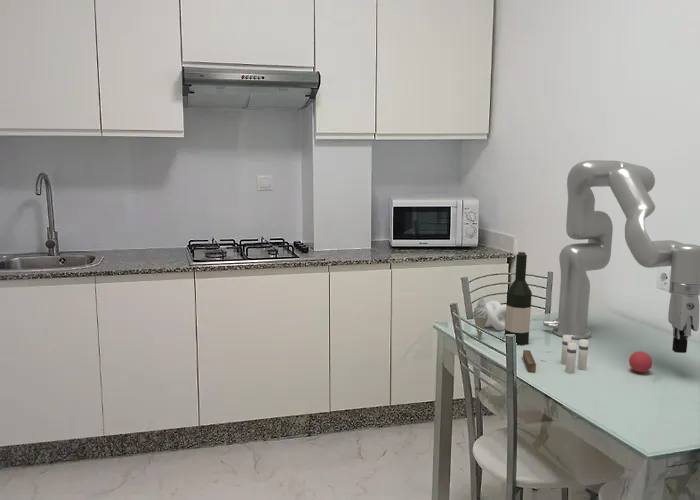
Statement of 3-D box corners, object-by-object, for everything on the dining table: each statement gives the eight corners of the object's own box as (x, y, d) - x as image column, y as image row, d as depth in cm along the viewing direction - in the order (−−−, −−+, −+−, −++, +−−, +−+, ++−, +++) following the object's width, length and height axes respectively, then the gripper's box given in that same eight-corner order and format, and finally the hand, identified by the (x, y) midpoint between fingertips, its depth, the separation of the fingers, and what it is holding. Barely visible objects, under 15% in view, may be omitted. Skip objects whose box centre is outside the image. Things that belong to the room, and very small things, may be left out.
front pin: (578, 369, 175) (580, 341, 174) (576, 366, 177) (578, 338, 176) (587, 370, 175) (589, 342, 173) (585, 367, 177) (587, 339, 176)
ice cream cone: (488, 337, 203) (490, 294, 200) (486, 342, 198) (488, 298, 196) (473, 336, 205) (475, 293, 202) (470, 340, 200) (473, 296, 197)
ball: (631, 375, 171) (633, 354, 170) (625, 367, 177) (627, 347, 176) (654, 376, 170) (656, 356, 169) (647, 368, 176) (649, 349, 175)
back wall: (528, 372, 172) (528, 363, 172) (522, 357, 184) (523, 350, 184) (535, 372, 172) (536, 364, 172) (529, 358, 184) (530, 350, 183)
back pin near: (566, 373, 172) (568, 344, 171) (564, 369, 175) (566, 341, 173) (575, 373, 172) (577, 345, 170) (573, 370, 174) (575, 342, 173)
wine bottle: (500, 337, 204) (505, 250, 198) (523, 337, 204) (529, 250, 199) (508, 345, 195) (513, 254, 190) (533, 345, 196) (539, 254, 191)
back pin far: (561, 364, 179) (563, 337, 178) (560, 361, 181) (562, 334, 180) (570, 364, 179) (572, 337, 177) (568, 362, 181) (570, 334, 180)
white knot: (505, 322, 222) (506, 298, 220) (518, 332, 210) (520, 307, 208) (476, 323, 220) (477, 299, 219) (487, 333, 209) (489, 308, 207)
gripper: (710, 294, 160) (704, 361, 163) (688, 283, 175) (683, 344, 177) (680, 293, 161) (675, 359, 164) (660, 282, 176) (655, 343, 178)
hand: (679, 351), depth 171 cm, fingers closed
